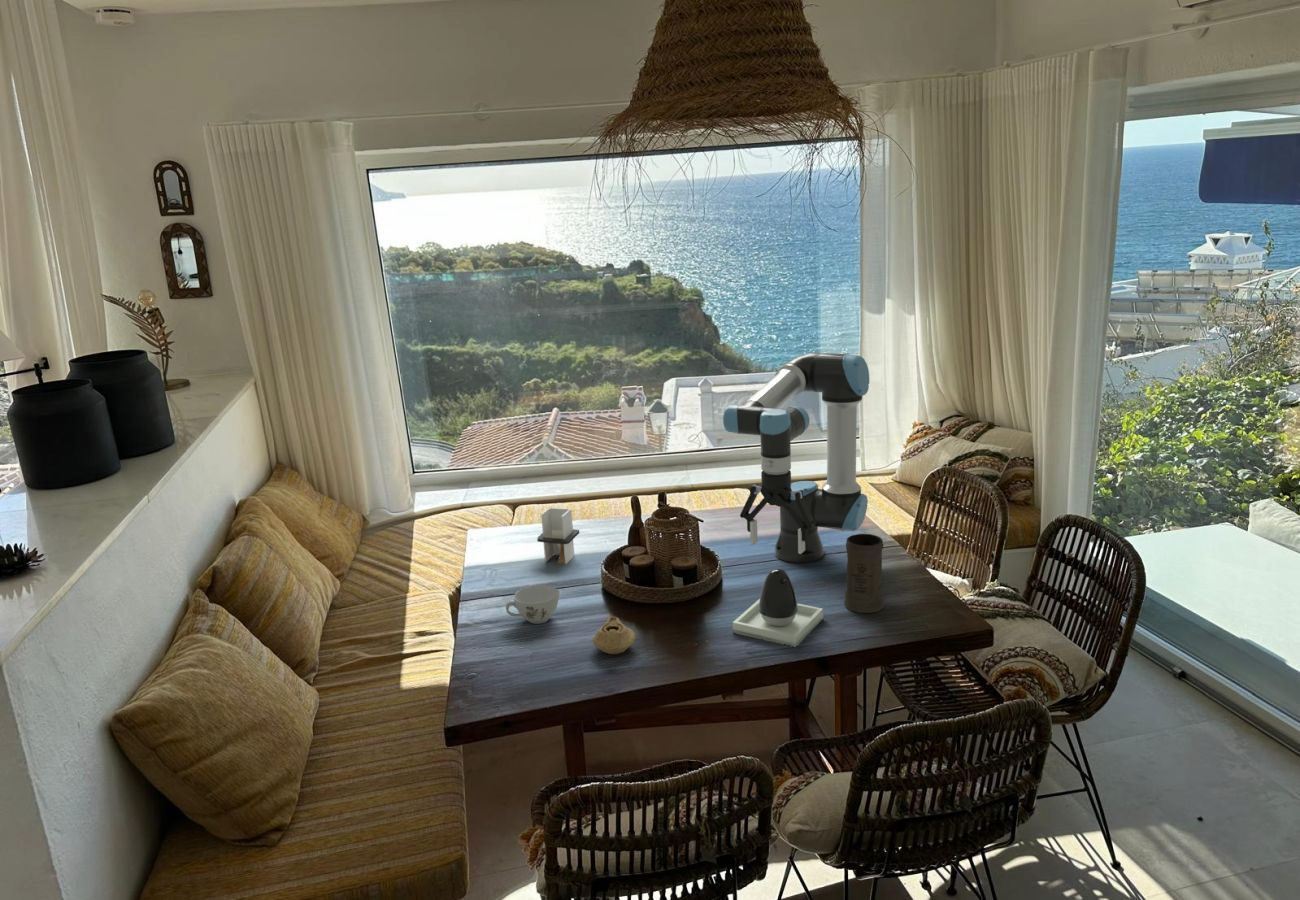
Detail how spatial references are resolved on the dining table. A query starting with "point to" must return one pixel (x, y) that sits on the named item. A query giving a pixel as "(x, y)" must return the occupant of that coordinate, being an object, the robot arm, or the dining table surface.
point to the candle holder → (558, 534)
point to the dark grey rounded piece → (778, 599)
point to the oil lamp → (614, 637)
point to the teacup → (535, 603)
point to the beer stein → (864, 573)
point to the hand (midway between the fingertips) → (777, 547)
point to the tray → (788, 634)
